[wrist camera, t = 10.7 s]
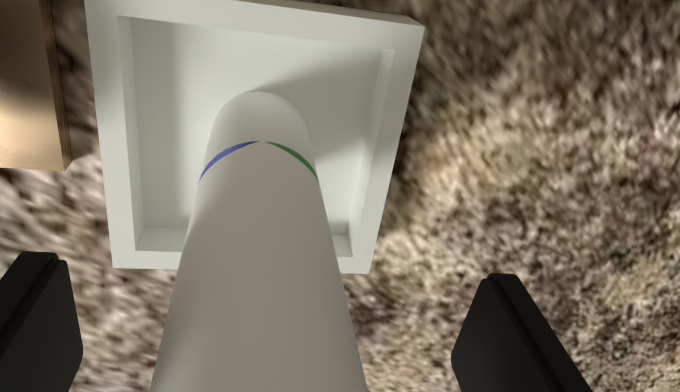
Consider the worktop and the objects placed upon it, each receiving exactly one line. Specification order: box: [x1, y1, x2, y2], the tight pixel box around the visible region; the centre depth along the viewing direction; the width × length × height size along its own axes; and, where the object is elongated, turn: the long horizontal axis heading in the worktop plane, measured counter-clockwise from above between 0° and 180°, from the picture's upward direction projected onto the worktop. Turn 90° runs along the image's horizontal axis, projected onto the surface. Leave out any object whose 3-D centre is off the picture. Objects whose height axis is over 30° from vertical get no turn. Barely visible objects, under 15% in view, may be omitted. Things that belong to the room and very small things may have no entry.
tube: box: [149, 91, 368, 392], centre depth 14 cm, size 4×4×15 cm
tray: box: [84, 0, 425, 274], centre depth 20 cm, size 12×12×2 cm
